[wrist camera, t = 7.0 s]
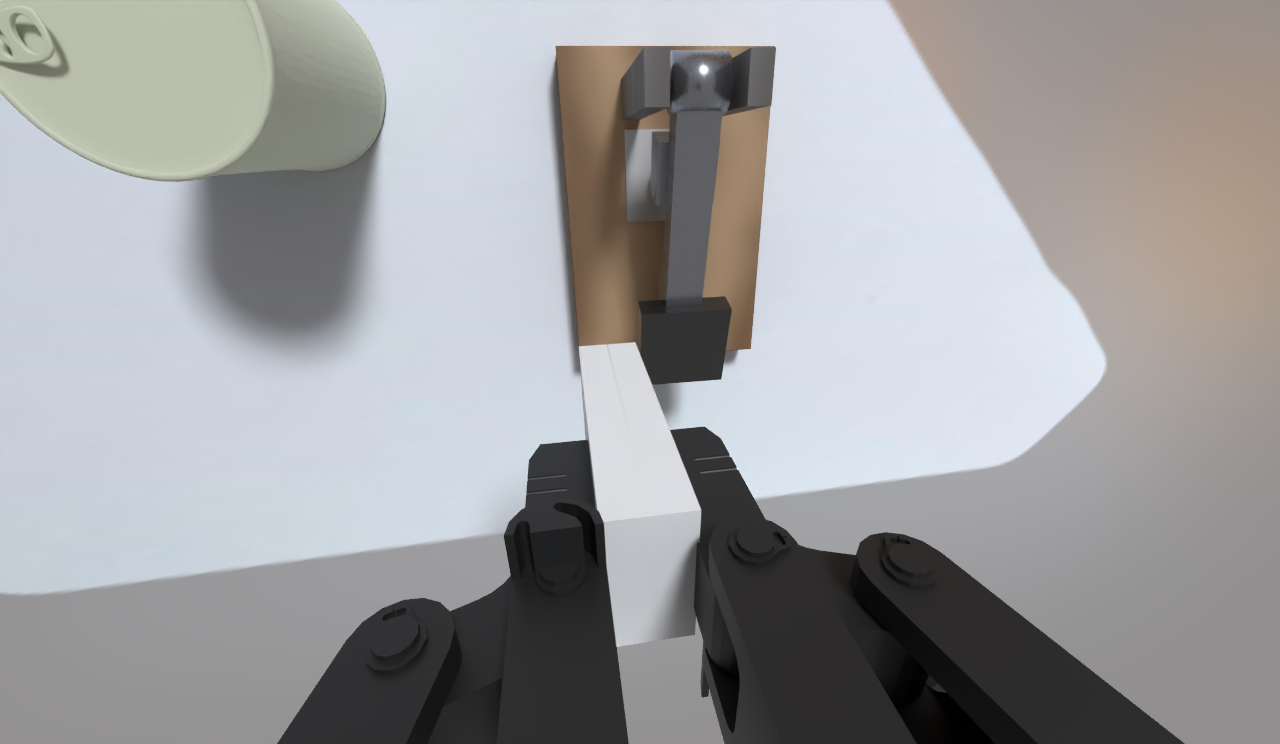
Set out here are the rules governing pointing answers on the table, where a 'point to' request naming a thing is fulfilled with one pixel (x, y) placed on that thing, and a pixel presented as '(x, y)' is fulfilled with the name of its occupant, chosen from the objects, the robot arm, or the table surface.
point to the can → (194, 83)
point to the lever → (687, 224)
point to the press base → (621, 175)
